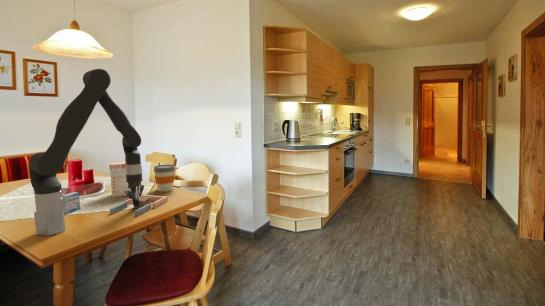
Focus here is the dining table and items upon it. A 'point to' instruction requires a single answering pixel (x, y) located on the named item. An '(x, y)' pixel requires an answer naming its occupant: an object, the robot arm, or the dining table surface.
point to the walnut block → (143, 201)
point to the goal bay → (157, 199)
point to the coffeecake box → (118, 179)
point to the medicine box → (71, 202)
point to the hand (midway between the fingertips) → (135, 205)
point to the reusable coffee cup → (164, 177)
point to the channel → (124, 205)
